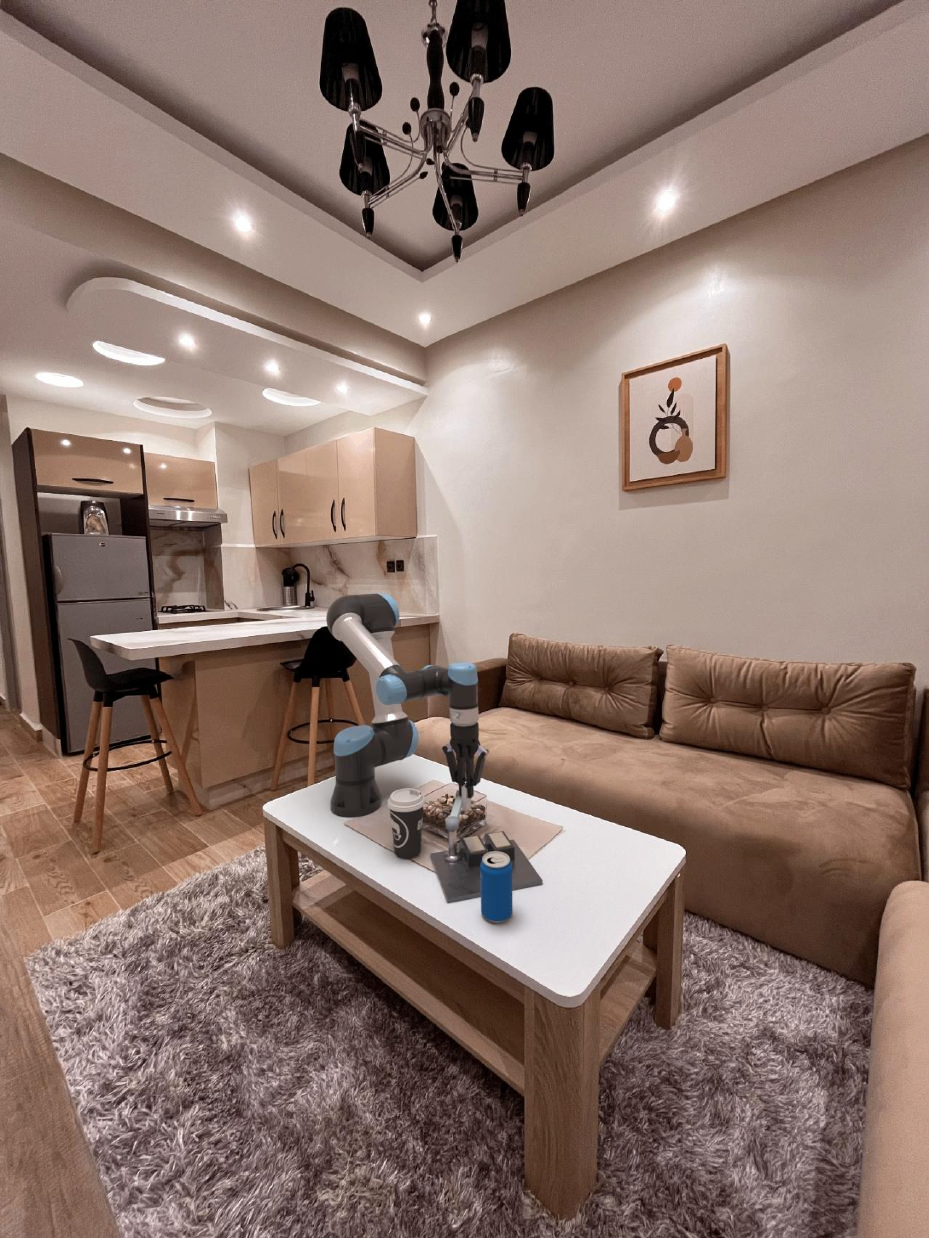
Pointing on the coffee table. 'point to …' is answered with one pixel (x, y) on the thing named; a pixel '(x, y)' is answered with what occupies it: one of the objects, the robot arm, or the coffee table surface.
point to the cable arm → (454, 814)
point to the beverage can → (496, 886)
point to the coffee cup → (406, 821)
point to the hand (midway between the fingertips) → (466, 808)
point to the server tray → (478, 865)
